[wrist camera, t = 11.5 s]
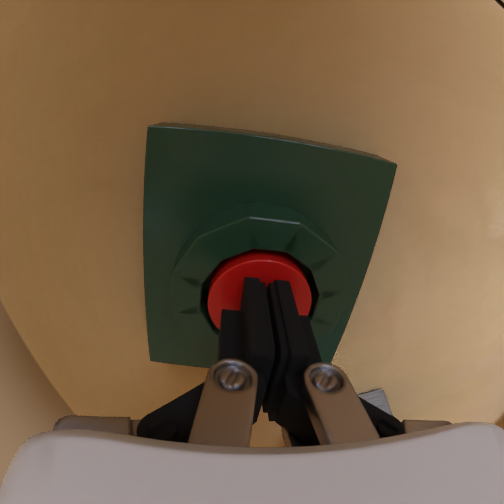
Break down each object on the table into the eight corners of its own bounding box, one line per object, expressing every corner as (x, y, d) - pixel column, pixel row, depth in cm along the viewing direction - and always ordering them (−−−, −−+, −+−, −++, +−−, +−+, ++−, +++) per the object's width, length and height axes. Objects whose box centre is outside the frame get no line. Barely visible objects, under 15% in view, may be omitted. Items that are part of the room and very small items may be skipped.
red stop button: (214, 234, 12) (211, 254, 11) (312, 245, 13) (323, 266, 11) (207, 314, 14) (204, 340, 12) (292, 321, 14) (298, 346, 13)
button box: (160, 122, 12) (132, 129, 9) (376, 154, 13) (420, 174, 10) (157, 335, 18) (143, 385, 14) (318, 348, 19) (333, 397, 15)
